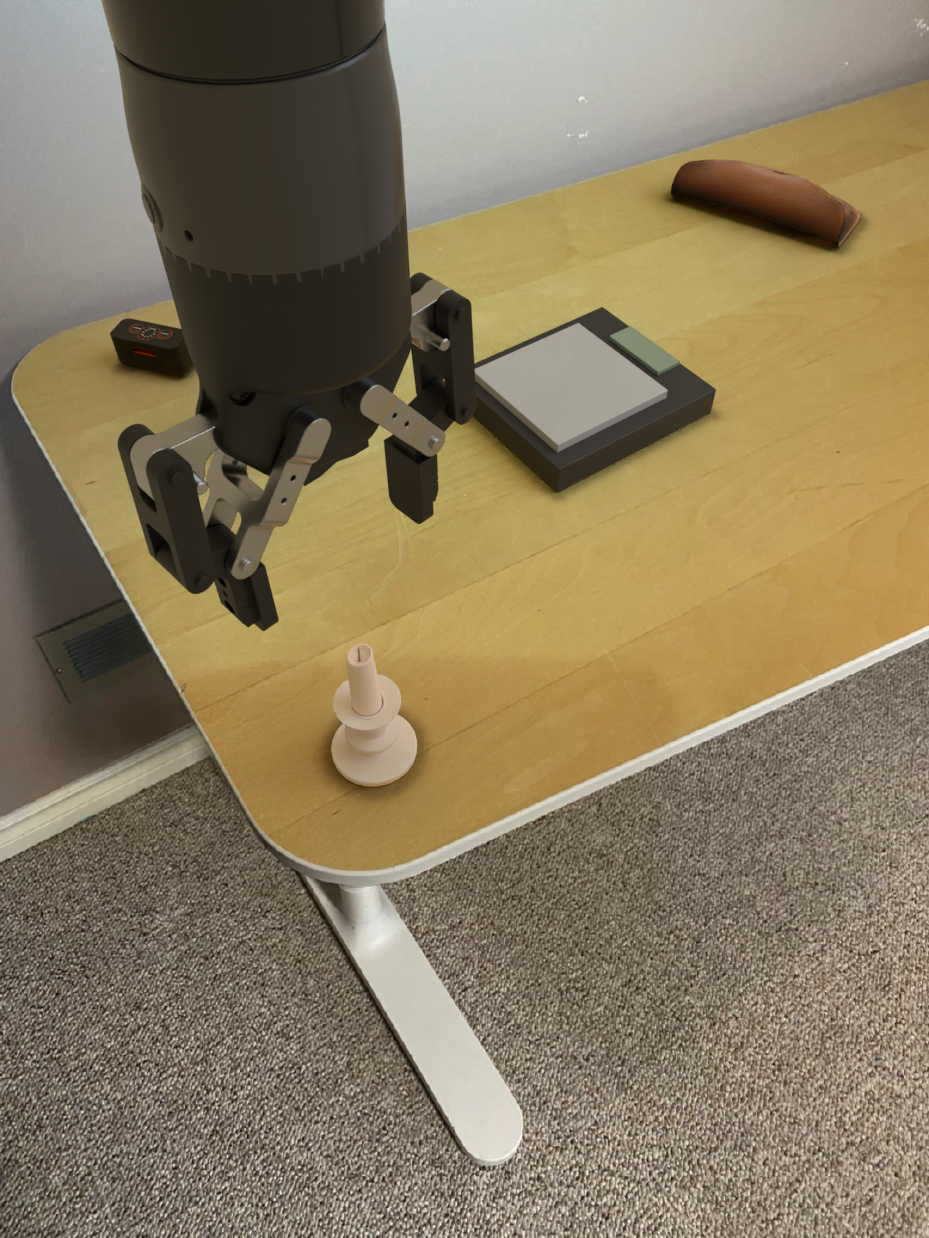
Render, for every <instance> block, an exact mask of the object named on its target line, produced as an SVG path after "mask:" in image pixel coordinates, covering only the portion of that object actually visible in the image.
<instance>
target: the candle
mask: <svg viewBox="0 0 929 1238" xmlns="http://www.w3.org/2000/svg"><path fill="white" fill-rule="evenodd" d="M345 661H346V671H347V679H346V680H344V681H343V682H342V683H341V684H340V685H339V687H337V689H336V691H335V693H334V695H333V701H332V708H333V713H334V715H335V716H336V718H337V720H338V721H340V722H341V724H340V726H339V727H338V728H337V729H336V730H335V732H334V735H333V738H332V740H331V747H330V750H331V757H332V762H333V764H334V766H335V768H336V770H337V771H338V772H339V774H340V775H341V776H342V777H343V778H344V779H346V780H347V781H349V782H351V783H352V784H355V785H359V786H363V787H372V788H373V787H375V788H376V787H377V788H378V787H382V786H385V785H390V784H392V783H394V782H396V781H398V780H400V779H401V778H402V777H403V776H404V775H405V774H407V773H408V772H409V770H410V769H411V767H412V766H413V765H414V763H415V761H416V758H417V754H418V740H417V736H416V731H415V730H414V728H413V727H412V725H411V723H410V722H408V721H407V720H406V719H405V718H404V717H403V716H401V715H400V714H398V713H399V712H400V709H401V706H402V694H401V691H400V688H399V687H398V685H397V684H396V683H395V682H394V681H393V680H392V679H391V678H389V677H387V676H385V675H383V674H379V673H378V671H377V665H376V662H375V657H374V650H373V649H372V647H371V645H369V644H366V643H358V644H355V645H353V646H351V647H350V648H349V649H348V651H347V653H346V659H345Z"/></svg>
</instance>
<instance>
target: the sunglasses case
mask: <svg viewBox="0 0 929 1238" xmlns="http://www.w3.org/2000/svg"><path fill="white" fill-rule="evenodd" d="M670 195H671V197H674V196H676V197H679V198H685V199H688V200H692V201H696V202H697V201H698V202H701V203H704V204H713V205H715V206H718V207H723V208H724V207H725V208H731V209H733V210H735V211H737V212H741V213H744V214H747V215H750V216H753V217H756V218H759V219H764V220H767V221H772V222H774V223H776V224H778V225H781V226H784V227H786V228H787V227H788V228H791V229H794V230H798V231H801V232H804V233H806V234H810V235H813V236H816V237H819V238H822V239H824V240H827V241H829V242H834V243H835V245H836V246H837V247H838V248H841V247H842V246H843V244H845V242H846V241H847V239H849V237H850V235H851V234H852V233H853V231H854V230H855V228H856V227H857V226H858V224H859V223H860V221H861V220H862V217H863V215H862V213H861V211H859V210H858V209H856V208H855V207H854V206H853V205H852V204H850V203H849V202H848V201H846V200H844V199H842V198H840V197H838V196H836V195H833V194H832V193H830V192H828V190H826V189H825V188H823V187H821V186H820V185H819V184H817V183H815V182H814V181H811V180H810V179H808V178H805V177H801V176H799V175H796V174H793V173H789V172H785V171H784V170H782V169H779V168H774V167H773V168H772V167H769V166H766V165H761V164H756V163H753V162H747V161H743V160H738V159H737V160H735V159H721V158H720V159H718V158H717V159H713V158H712V159H700V160H699V159H698V160H690V161H688V162H685V163H684V164H682V165H681V166H680V167H679V168H678V169H677V172H676V173H675V175H674V177H673V180H672V183H671V187H670Z"/></svg>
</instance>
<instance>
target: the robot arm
mask: <svg viewBox="0 0 929 1238" xmlns="http://www.w3.org/2000/svg"><path fill="white" fill-rule="evenodd" d="M100 1H101V4H102V8H103V9H102V10H103V12H104V15H105V19H106V23H107V27H108V30H109V35H110V39H111V41H112V42H113V48H114V53H115V57H116V58H115V59H116V62H117V67H118V73H119V80H120V87H121V95H122V102H123V111H124V114H125V115H124V116H125V122H126V129H127V133H128V138H129V142H130V147H131V150H132V155H133V159H134V162H135V167H136V170H137V172H138V176H139V181H140V191H141V201H142V202H141V203H142V205H143V208H144V211H145V213H146V215H147V217H148V220H149V222H150V223H151V224H152V228H153V232H154V235H155V239H156V242H157V245H158V250H159V252H160V257H161V261H162V264H163V267H164V271H165V274H166V278H167V281H168V286H169V289H170V292H171V296H172V300H173V304H174V307H175V311H176V314H177V317H178V322H179V325H180V329H182V333H183V336H184V340H185V343H186V346H187V349H188V352H189V355H190V357H191V360H192V362H193V364H194V365H193V367H194V369H195V372H196V374H197V377H198V381H199V385H198V387H199V390H198V398H197V400H196V401H197V402H196V405H195V411H194V412H195V413H194V415H193V416H191V417H189V418H187V419H185V420H183V421H181V422H179V423H176V424H175V425H172V426H171V427H169V428H166V429H164V430H163V431H160V432H159V433H155V432H154V431H153V430H151V429H150V428H149V427H148V426H146V425H145V424H144V423H143V424H142V423H133V424H130V425H128V426H127V427H125V428H124V429H123V430H122V431H121V433H120V434H119V436H118V440H117V449H118V453H119V457H120V459H121V463H122V466H123V469H124V473H125V476H126V480H127V483H128V487H129V490H130V493H131V496H132V500H133V504H134V506H135V510H136V513H137V517H138V521H139V523H140V527H141V529H142V530H141V531H142V533H143V536H144V540H145V543H146V547H147V550H148V553H149V555H150V556H151V558H153V559H154V560H155V561H156V562H157V563H158V564H159V565H161V567H162V568H163V569H165V571H166V572H168V574H170V575H171V577H173V578H174V579H175V581H177V582H178V583H179V584H180V585H181V586H182V587H183V588H184V589H185V590H186V591H187V592H188V593H190V594H191V595H199V594H202V593H204V592H206V591H208V589H210V588H211V587H212V585H213V584H214V586H215V589H216V593H217V594H218V599H219V602H220V604H221V605H222V606H223V607H224V608H225V609H227V611H228V612H229V613H230V614H232V615H233V616H234V617H235V618H236V619H237V620H238V621H239V622H240V623H241V624H243V625H244V626H245V627H246V628H250V627H251V626H253V625H255V626H256V627H257V628H258V629H259V630H261V631H262V632H266V631H267V630H268V629H270V628H271V627H273V626H274V625H276V624H277V623H278V622H279V621H280V619H279V615H278V612H277V607H276V603H275V599H274V596H273V591H272V588H271V583H270V579H269V576H268V572H267V567H266V565H265V564H264V563H263V562H262V558H263V556H264V553H265V552H266V551H265V550H266V548H267V546H268V543H269V541H270V539H271V536H272V534H273V532H274V530H275V528H278V527H279V528H283V527H284V526H286V525H287V524H288V522H289V520H290V518H291V515H292V513H293V511H294V509H295V506H296V503H297V501H298V498H299V496H300V494H301V492H302V489H303V487H306V486H308V485H310V484H311V483H313V482H314V481H316V480H317V479H319V478H321V477H322V476H324V474H326V473H327V472H328V471H329V470H330V469H331V468H332V467H333V466H334V465H335V464H336V463H338V462H340V461H344V460H345V459H349V458H352V457H355V456H356V455H357V454H359V453H361V452H362V451H365V450H366V449H368V448H369V447H370V443H369V440H370V439H371V438H372V436H373V435H374V434H375V433H376V432H377V430H378V428H379V426H380V427H382V428H383V429H385V430H386V431H387V432H389V433H390V434H391V435H389V436H388V437H386V438H385V439H383V448H384V459H385V469H386V479H387V481H386V482H387V490H388V497H389V500H390V502H391V504H392V505H393V507H394V508H396V510H398V511H399V512H401V514H403V515H404V516H406V517H407V518H408V519H409V520H411V521H412V522H413V523H415V524H417V525H422V524H423V523H425V522H426V521H427V520H429V519H430V518H432V517H433V516H434V503H435V502H436V501H437V497H438V493H439V481H438V480H439V474H438V473H439V466H438V463H439V462H438V453H440V452H441V450H442V448H443V447H444V444H445V443H446V433H445V432H446V431H447V430H448V429H449V428H450V427H451V425H453V424H454V422H455V423H456V424H457V425H460V426H461V425H465V424H467V423H468V422H469V421H471V419H472V418H473V417H474V416H473V415H474V413H475V410H476V405H477V404H476V385H475V365H474V363H475V349H474V348H475V346H474V330H473V310H472V302H471V300H470V299H469V298H467V297H466V296H463V295H462V294H460V293H458V292H456V290H455V289H453V288H451V287H449V286H448V285H446V284H444V283H442V282H440V281H439V280H437V279H434V278H432V277H431V276H429V275H427V274H426V273H424V272H420V271H419V272H416V273H414V274H413V275H412V276H411V271H410V270H411V269H410V251H409V236H408V235H409V234H408V217H407V197H406V181H405V164H404V163H405V161H404V147H403V145H404V144H403V130H402V118H401V117H402V116H401V107H400V101H399V96H398V95H399V94H398V90H397V84H396V79H395V74H394V69H393V64H392V59H391V58H392V57H391V52H390V47H389V39H388V29H387V22H386V4H385V0H100ZM410 353H411V360H412V361H411V362H412V370H413V379H414V386H415V387H414V388H415V394H416V396H415V397H414V398H413V399H412V400H411V401H410V402H409V403H408V404H407V403H406V402H405V401H403V400H402V399H400V398H399V397H398V396H397V395H395V394H394V392H395V389H396V387H397V384H398V382H399V380H400V377H401V376H402V372H403V371H404V368H405V365H406V363H407V360H408V359H409V357H410V356H409V355H410ZM213 453H214V454H213ZM212 454H213V457H212V459H211V461H210V465H209V467H208V468H207V469H208V470H207V472H206V465H207V462H208V459H209V458H210V457H211V455H212ZM248 467H250V468H252V469H254V470H256V471H257V472H260V473H261V474H263V475H265V476H267V477H268V479H267V481H266V484H265V486H264V489H263V488H262V487H260V485H258V484H257V483H256V482H254V481H253V480H252V479H251V478H250V477H249V474H248ZM205 476H206V480H205ZM208 491H209V494H208V496H207V497H208V498H207V500H206V503H205V505H204V507H203V509H202V506H201V501H200V496H202V495H205V494H206V493H207V492H208ZM238 513H239V516H240V523H239V526H238V529H237V531H236V533H235V532H234V531H233V530H232V527H233V526H234V523H235V520H236V518H237V515H238Z"/></svg>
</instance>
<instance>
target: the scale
mask: <svg viewBox="0 0 929 1238" xmlns="http://www.w3.org/2000/svg"><path fill="white" fill-rule="evenodd" d="M474 365H475V385H476V404H477V405H476V410H475V413H474V415H473V416H472V417H473V418H474V419H476V420H477V421H478V422H479V423H480V424H481V425H482V426H483V427H484V428H485V429H487V430H488V431H489V432H490V434H492V435H493V436H494V437H495V438H497V440H499V442H500V443H502V444H503V445H504V446H505V447H507V449H508V450H510V451H511V452H512V453H513V454H514V455H515V456H516V457H517V458H518V459H519V460H520V461H521V462H523V463H524V464H525V465H526V466H527V468H529V469H530V470H532V471H533V473H535V474H536V475H537V476H538V477H539V478H540V479H541V480H542V481H544V483H546V484H547V485H548V486H549V487H550V488H551V489H552V490H553V491H554V492H555V493H559V492H561V491H563V490H566V489H567V488H570V487H571V486H573V485H575V484H577V483H578V482H581V481H582V480H584V479H586V478H589V477H590V476H592V475H594V474H596V473H598V472H600V471H602V470H604V469H606V468H607V467H609V466H611V465H613V464H616V463H617V462H619V461H621V460H623V459H624V458H626V457H628V456H631V455H632V454H634V453H636V452H638V451H640V450H643V449H644V448H645V447H648V446H649V445H651V444H653V443H655V442H657V441H659V440H661V439H663V438H665V437H667V436H669V435H670V434H673V433H674V432H677V431H678V430H681V429H683V428H684V427H686V426H688V425H689V424H692V423H693V422H696V421H697V420H700V419H701V418H703V417H705V416H707V415H709V414H711V412H712V409H713V404H714V400H715V397H716V392H717V388H715V387H713V386H712V385H711V384H710V383H708V382H707V381H706V380H704V379H703V378H701V377H700V376H698V375H697V374H696V373H694V372H693V371H692V370H690V369H689V368H687V366H685V365H683V364H682V363H681V360H679V359H678V358H676V357H675V356H673V355H672V354H671V353H669V352H668V351H667V350H665V349H664V348H663V347H661V346H660V345H658V344H657V343H656V342H654V341H653V340H651V339H650V338H649V337H648V336H646V335H644V334H643V333H642V332H640V331H639V330H638V329H636V328H635V327H633V326H631V325H628V324H627V323H626V322H624V321H623V320H621V319H620V318H619V317H617V316H616V315H615V314H613V313H611V312H610V311H609V310H607V308H605V307H603V306H601V307H598V308H596V309H594V310H592V311H589V312H587V313H585V314H583V315H581V316H578V317H575V318H574V319H571V320H569V321H567V322H565V323H563V324H560V325H558V326H555V327H554V328H551V329H549V330H547V331H544V332H542V333H540V334H537V335H536V336H533V337H531V338H529V339H526V340H524V341H522V342H520V343H518V344H515V345H513V346H510V347H508V348H506V349H503V350H501V351H500V352H497V353H494V354H493V355H490V356H488V357H486V358H484V359H481V360H479V361H477V362H474Z"/></svg>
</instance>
